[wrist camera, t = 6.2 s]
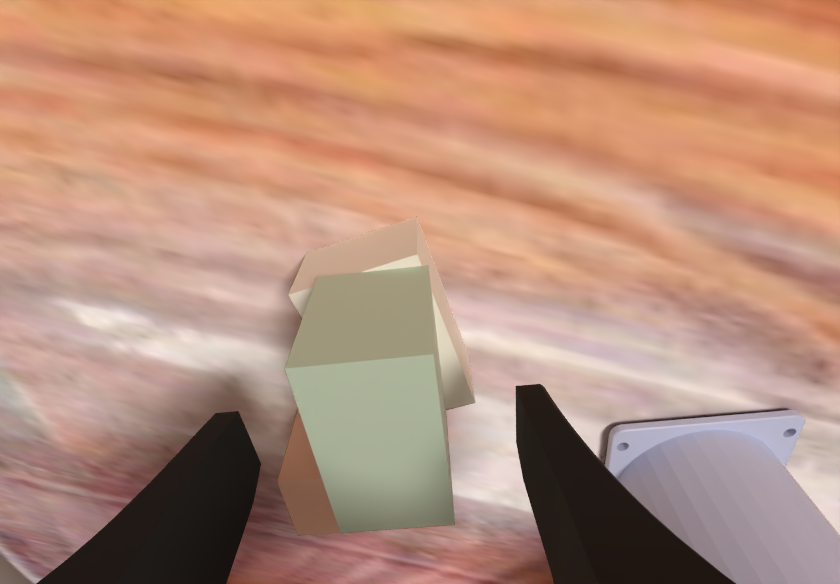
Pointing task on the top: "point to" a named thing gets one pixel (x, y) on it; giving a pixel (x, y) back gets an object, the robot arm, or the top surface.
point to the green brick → (375, 399)
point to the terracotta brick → (306, 487)
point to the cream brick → (395, 251)
